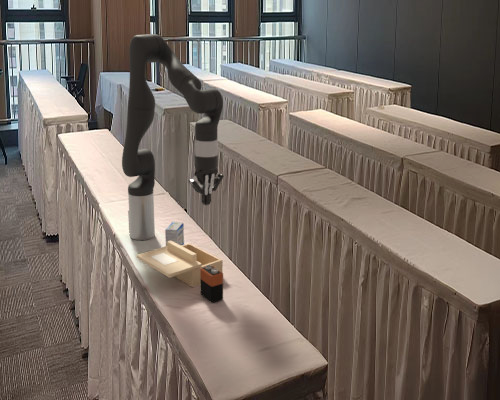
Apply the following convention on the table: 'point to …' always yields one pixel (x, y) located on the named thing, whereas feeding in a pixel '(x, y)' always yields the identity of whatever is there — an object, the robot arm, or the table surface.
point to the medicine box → (175, 233)
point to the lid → (171, 259)
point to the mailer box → (195, 275)
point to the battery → (211, 284)
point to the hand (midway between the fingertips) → (206, 204)
